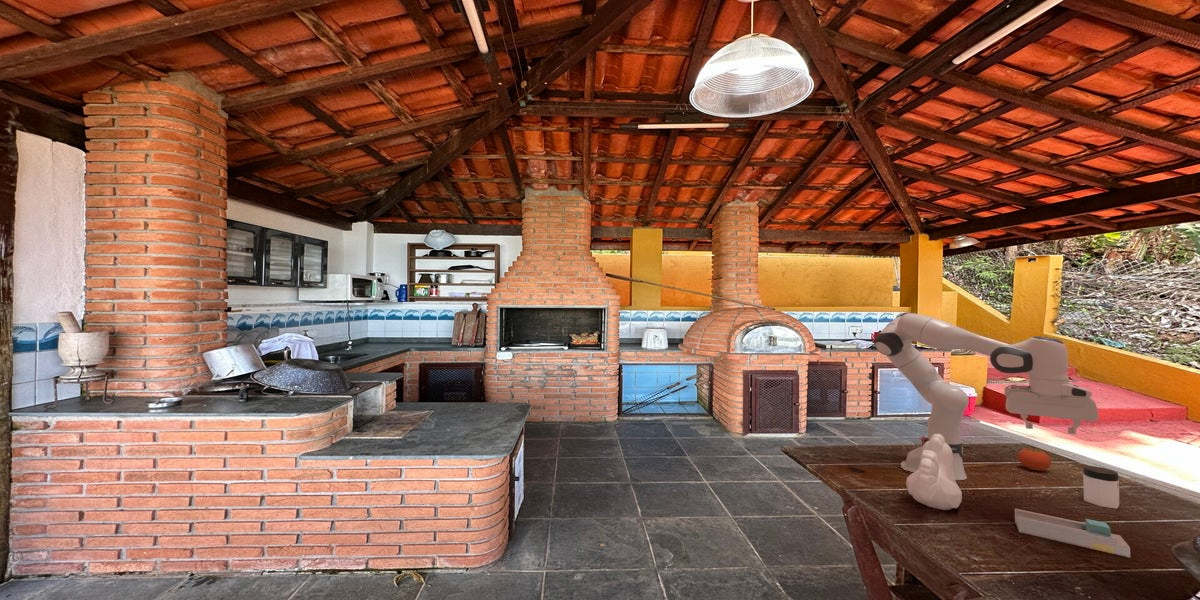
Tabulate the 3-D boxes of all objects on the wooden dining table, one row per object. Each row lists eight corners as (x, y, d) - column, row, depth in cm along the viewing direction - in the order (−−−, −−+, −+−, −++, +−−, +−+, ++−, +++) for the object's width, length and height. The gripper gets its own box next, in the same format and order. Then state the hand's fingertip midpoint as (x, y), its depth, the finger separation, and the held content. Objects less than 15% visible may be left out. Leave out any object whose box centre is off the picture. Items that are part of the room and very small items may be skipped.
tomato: (1017, 469, 185) (1016, 446, 186) (1018, 464, 192) (1018, 441, 193) (1051, 476, 178) (1050, 452, 178) (1051, 470, 185) (1050, 447, 185)
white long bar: (1019, 535, 130) (1018, 517, 130) (1015, 525, 137) (1014, 508, 137) (1130, 562, 117) (1129, 542, 117) (1120, 549, 123) (1119, 530, 123)
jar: (1117, 511, 147) (1116, 476, 147) (1082, 502, 154) (1081, 468, 154) (1121, 504, 152) (1120, 470, 152) (1087, 496, 159) (1086, 464, 159)
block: (1090, 544, 123) (1089, 523, 123) (1086, 539, 126) (1085, 518, 126) (1111, 549, 120) (1110, 528, 120) (1106, 543, 123) (1105, 522, 123)
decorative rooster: (921, 490, 163) (920, 426, 164) (972, 507, 149) (971, 436, 150) (886, 505, 151) (884, 435, 152) (938, 524, 137) (936, 447, 138)
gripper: (1005, 385, 139) (1006, 427, 139) (1099, 392, 127) (1100, 439, 126) (1003, 382, 144) (1004, 423, 144) (1093, 389, 132) (1094, 434, 131)
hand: (1050, 431), depth 135 cm, fingers open, 8 cm apart
